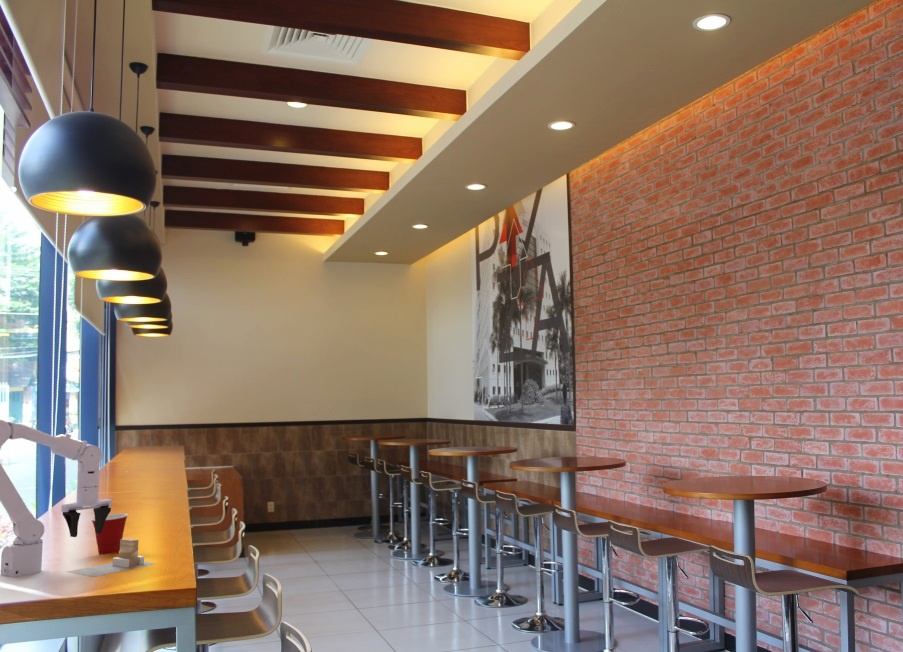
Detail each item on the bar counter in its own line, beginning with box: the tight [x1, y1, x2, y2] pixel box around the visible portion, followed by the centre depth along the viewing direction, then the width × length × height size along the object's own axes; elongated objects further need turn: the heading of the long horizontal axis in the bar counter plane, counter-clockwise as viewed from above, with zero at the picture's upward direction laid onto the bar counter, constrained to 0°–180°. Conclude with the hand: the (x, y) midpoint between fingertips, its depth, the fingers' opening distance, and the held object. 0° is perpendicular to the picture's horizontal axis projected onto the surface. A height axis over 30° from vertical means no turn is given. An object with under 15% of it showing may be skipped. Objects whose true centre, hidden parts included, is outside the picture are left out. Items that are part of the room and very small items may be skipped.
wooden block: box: [119, 537, 139, 566], centre depth 226 cm, size 2×5×7 cm, turn 57°
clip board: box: [66, 555, 157, 578], centre depth 221 cm, size 20×12×3 cm, turn 147°
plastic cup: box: [90, 513, 129, 556], centre depth 246 cm, size 11×11×12 cm
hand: (86, 534), depth 226 cm, fingers open, 7 cm apart
